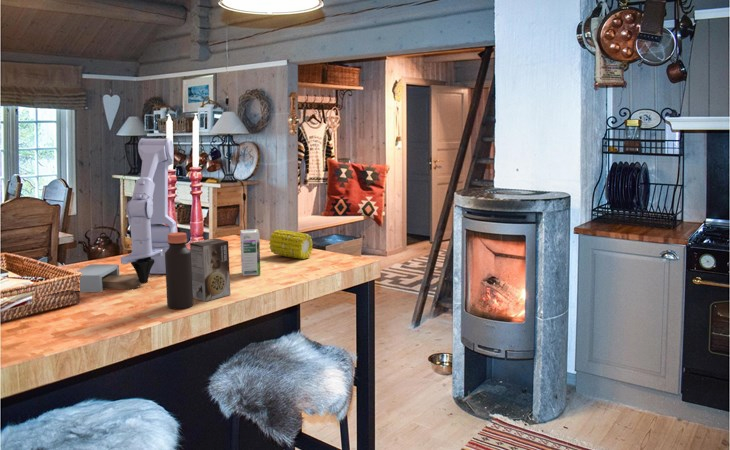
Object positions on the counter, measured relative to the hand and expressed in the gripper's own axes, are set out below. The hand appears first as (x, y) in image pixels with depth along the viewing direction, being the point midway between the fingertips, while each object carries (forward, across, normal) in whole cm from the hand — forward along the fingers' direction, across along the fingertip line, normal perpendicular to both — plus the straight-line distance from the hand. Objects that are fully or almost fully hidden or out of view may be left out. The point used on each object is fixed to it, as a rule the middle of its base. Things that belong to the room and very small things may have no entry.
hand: (143, 282), depth 198 cm
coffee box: (+1, -2, +26) cm, 26 cm away
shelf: (+1, +7, -13) cm, 15 cm away
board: (+1, +4, -9) cm, 10 cm away
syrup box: (+1, -29, +18) cm, 34 cm away
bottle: (+1, +10, +25) cm, 27 cm away
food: (+1, -57, +14) cm, 58 cm away
